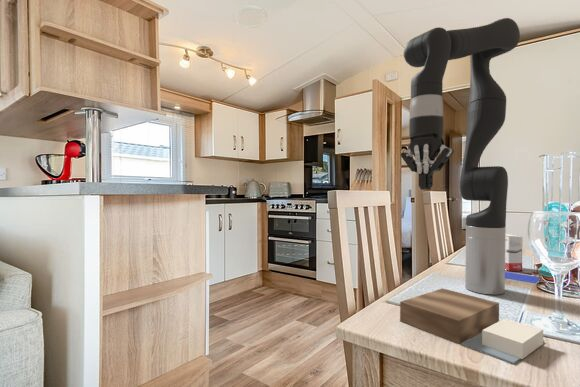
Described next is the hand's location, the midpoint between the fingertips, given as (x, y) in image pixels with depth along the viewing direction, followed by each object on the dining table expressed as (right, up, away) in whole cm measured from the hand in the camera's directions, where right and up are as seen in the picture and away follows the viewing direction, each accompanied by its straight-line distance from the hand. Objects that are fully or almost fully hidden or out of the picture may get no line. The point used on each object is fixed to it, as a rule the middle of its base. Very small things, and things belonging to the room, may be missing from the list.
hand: (425, 189), depth 79 cm
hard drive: (+36, -28, +22) cm, 50 cm away
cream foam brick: (+6, -25, -22) cm, 34 cm away
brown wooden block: (0, -27, -12) cm, 30 cm away
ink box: (+43, -27, +35) cm, 61 cm away
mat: (+5, -27, -21) cm, 35 cm away
